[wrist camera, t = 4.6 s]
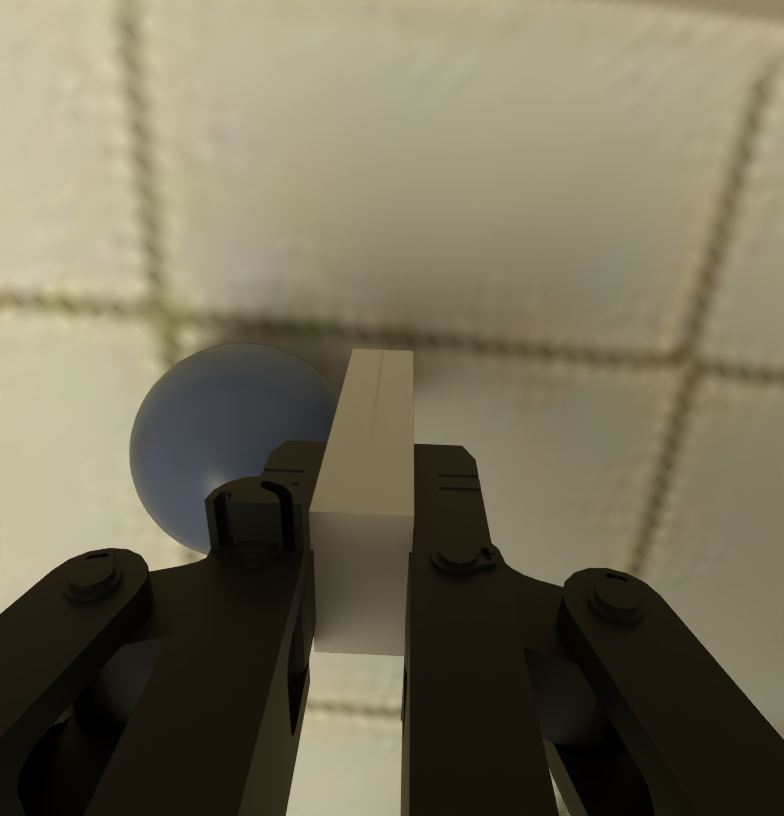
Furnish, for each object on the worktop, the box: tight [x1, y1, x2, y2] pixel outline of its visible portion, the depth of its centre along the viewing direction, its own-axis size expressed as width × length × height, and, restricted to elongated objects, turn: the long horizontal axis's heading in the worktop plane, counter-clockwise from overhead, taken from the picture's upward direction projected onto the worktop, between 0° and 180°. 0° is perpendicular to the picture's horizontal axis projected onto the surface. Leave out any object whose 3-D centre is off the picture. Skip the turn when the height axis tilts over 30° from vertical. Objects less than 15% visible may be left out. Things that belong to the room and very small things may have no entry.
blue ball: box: [130, 343, 339, 555], centre depth 15 cm, size 6×6×6 cm
